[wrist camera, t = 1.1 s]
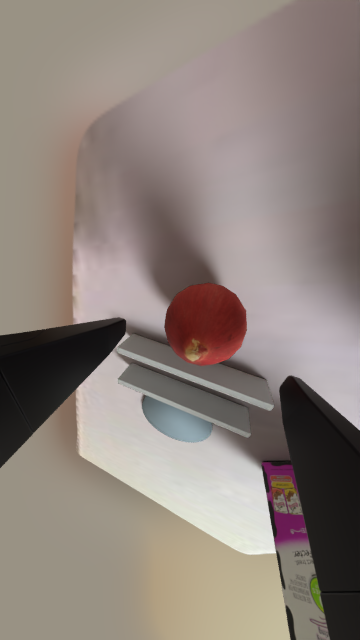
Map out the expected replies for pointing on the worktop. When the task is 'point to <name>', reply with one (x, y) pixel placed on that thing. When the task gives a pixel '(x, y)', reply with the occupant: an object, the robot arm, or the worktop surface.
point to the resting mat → (175, 421)
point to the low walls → (189, 396)
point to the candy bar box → (294, 554)
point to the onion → (205, 324)
